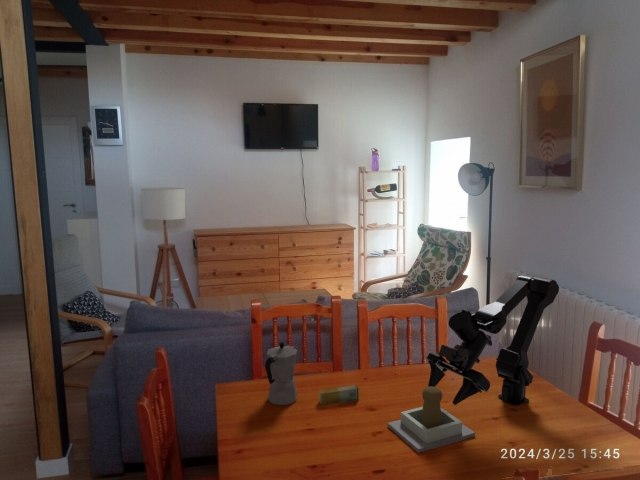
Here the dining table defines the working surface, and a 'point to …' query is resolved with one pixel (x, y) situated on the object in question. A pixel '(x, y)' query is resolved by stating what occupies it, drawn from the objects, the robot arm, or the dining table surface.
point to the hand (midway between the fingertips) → (440, 397)
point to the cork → (431, 407)
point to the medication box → (338, 395)
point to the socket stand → (429, 430)
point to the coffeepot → (281, 374)
